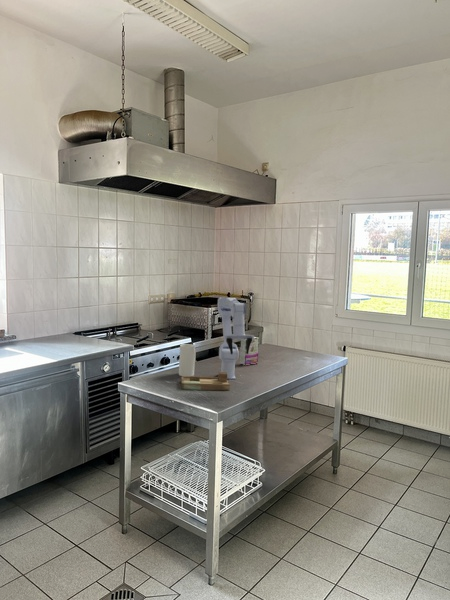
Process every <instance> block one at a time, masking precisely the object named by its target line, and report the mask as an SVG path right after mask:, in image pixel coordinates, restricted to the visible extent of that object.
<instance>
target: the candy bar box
mask: <svg viewBox="0 0 450 600" xmlns="http://www.w3.org/2000/svg"><path fill="white" fill-rule="evenodd" d="M246 340H247V339H240V352H239V357H240V359H239V364H240V363H241V364H245V365H246V364H251V363H256V362H258V363H259V348H260V347H259V345H260V337H256V336H254V339H252V342H251V344H250V347H249V352H248V354H246Z"/></svg>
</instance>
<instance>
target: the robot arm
mask: <svg viewBox="0 0 450 600" xmlns="http://www.w3.org/2000/svg"><path fill="white" fill-rule="evenodd" d="M217 311H218V315H220V316H221V325H222V335H223V342H222V343H221V344H220V346H219V348H218V359H219V360H220V361H221V365H220V367H221V369H220V372H227V380H228V379H230V380H235V379H237V378H236V376H235V370H236V369H235V368H236V363H237V360H238V359H239V357H240V352H239V349H238V345H237V344H236V343H234V342H233V340H241V339H247V340H246V354H248V352H249V347H250V344H251V342H252V339H254V337H255V335H254V334H246V333H245V331H246V327H245V313H246V304H245V302H239V301H238V299H237V298H236V297H221V296H219V298H217ZM231 319H232V320H231Z"/></svg>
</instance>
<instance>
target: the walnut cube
mask: <svg viewBox="0 0 450 600" xmlns="http://www.w3.org/2000/svg"><path fill="white" fill-rule="evenodd" d="M217 377H218V380H219V382H227V381H228V379H227V372H221V371H218V376H217Z"/></svg>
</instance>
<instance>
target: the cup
mask: <svg viewBox="0 0 450 600" xmlns="http://www.w3.org/2000/svg"><path fill="white" fill-rule="evenodd" d="M195 360H196V345H195V344H191V343H183V344H182V343H181V344H180V345H179V361H178V375H179V376H180V377H182V376H192V377H195V365H196V364H195V363H196V361H195Z"/></svg>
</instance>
